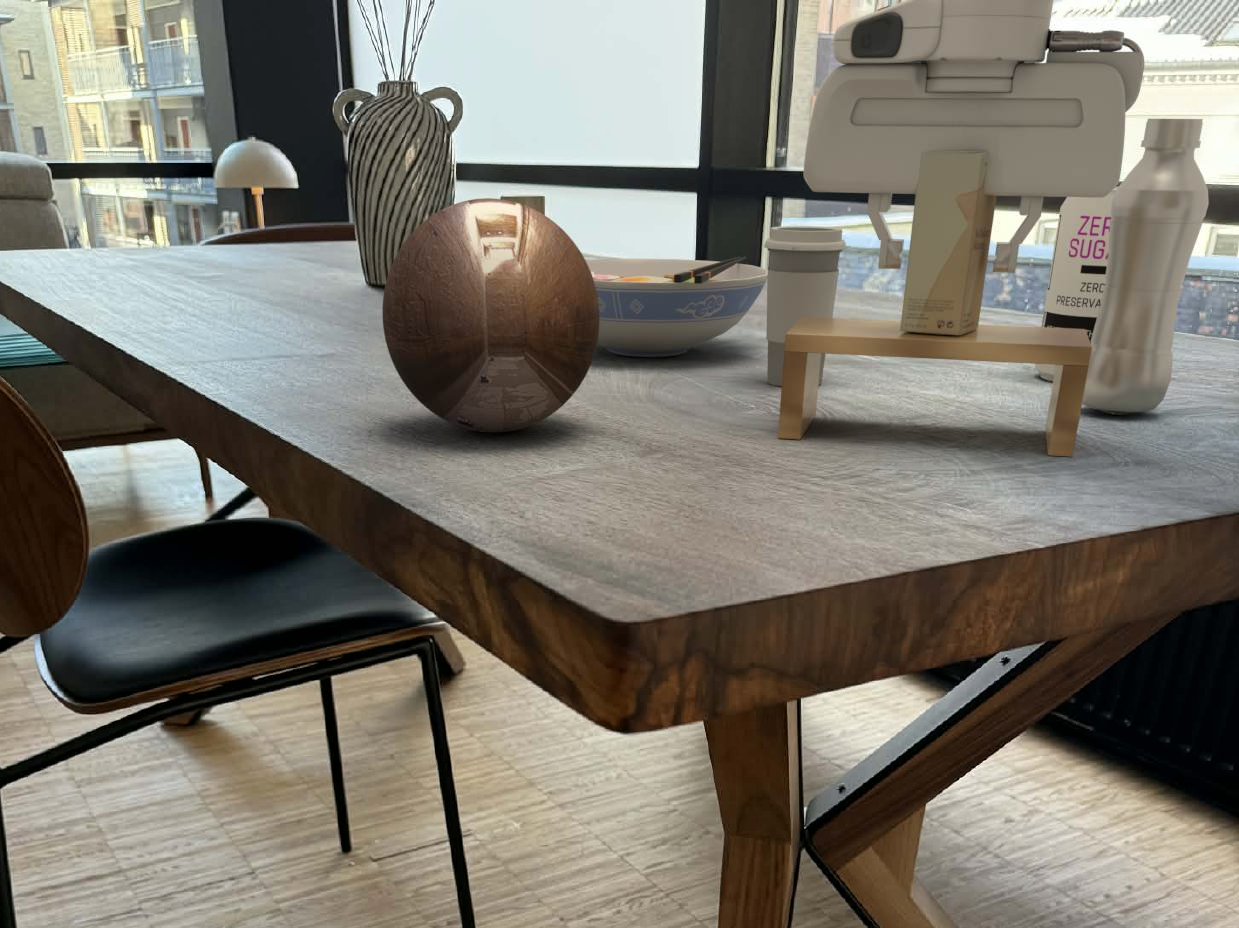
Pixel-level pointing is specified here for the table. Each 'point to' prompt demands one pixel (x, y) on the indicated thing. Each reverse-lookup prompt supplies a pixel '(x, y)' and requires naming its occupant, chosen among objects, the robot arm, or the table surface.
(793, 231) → the cup
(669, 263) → the ramen bowl
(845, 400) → the table surface
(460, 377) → the copper ball
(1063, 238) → the supplement can
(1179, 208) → the plastic bottle
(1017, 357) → the shelf
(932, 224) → the box
